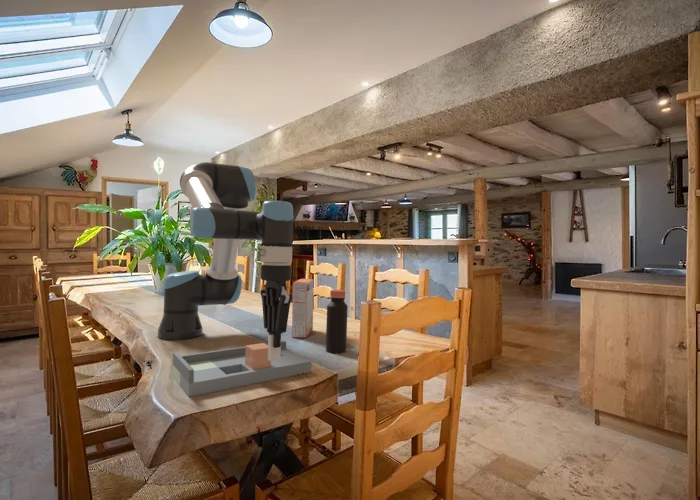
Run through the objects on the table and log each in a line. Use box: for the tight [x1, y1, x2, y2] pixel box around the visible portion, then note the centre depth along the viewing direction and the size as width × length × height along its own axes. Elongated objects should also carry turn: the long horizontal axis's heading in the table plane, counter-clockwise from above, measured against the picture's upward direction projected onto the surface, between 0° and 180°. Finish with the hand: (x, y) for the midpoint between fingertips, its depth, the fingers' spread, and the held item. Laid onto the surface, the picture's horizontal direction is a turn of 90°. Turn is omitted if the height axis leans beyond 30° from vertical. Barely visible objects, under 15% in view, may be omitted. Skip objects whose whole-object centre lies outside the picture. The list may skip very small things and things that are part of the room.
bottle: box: [325, 289, 349, 354], centre depth 128 cm, size 7×7×20 cm
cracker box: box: [291, 278, 315, 339], centre depth 150 cm, size 14×6×21 cm, turn 175°
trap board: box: [172, 340, 312, 397], centre depth 103 cm, size 16×32×6 cm, turn 127°
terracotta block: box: [244, 342, 271, 370], centre depth 101 cm, size 5×5×5 cm
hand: (274, 359), depth 95 cm, fingers closed
